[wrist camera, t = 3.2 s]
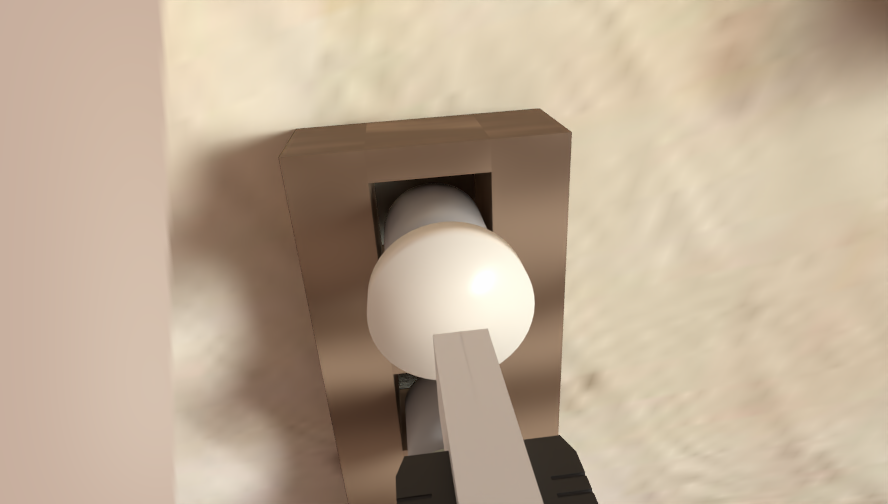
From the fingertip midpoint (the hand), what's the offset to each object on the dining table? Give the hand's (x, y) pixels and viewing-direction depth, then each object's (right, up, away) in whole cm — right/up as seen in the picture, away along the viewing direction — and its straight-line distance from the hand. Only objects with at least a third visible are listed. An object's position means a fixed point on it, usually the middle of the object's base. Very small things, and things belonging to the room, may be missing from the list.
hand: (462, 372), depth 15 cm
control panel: (-1, -3, +18) cm, 18 cm away
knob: (-1, +4, +9) cm, 10 cm away
